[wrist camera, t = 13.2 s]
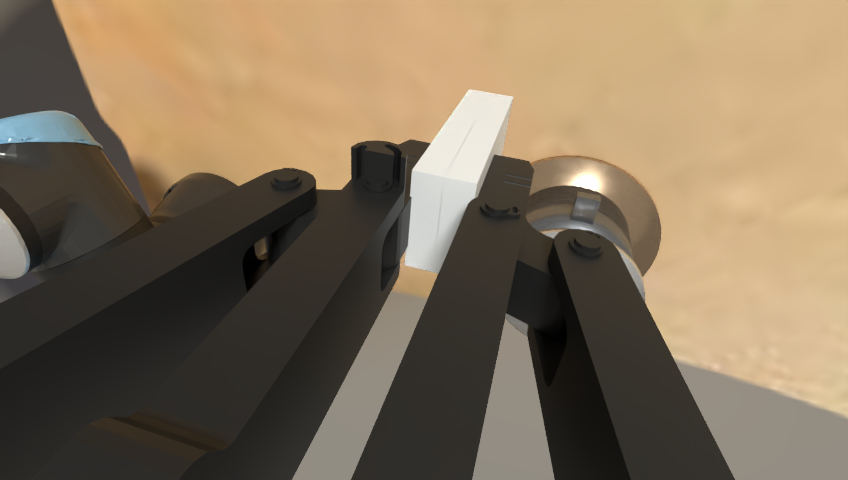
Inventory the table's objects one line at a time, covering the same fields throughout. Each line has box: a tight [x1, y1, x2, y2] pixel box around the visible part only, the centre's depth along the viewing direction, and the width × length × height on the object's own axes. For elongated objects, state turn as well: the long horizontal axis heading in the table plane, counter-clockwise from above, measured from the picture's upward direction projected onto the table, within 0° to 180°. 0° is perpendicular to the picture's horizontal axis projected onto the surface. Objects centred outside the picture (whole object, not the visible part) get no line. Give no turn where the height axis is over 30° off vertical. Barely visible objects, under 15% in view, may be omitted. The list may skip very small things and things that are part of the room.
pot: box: [526, 156, 661, 277], centre depth 48 cm, size 19×19×9 cm
